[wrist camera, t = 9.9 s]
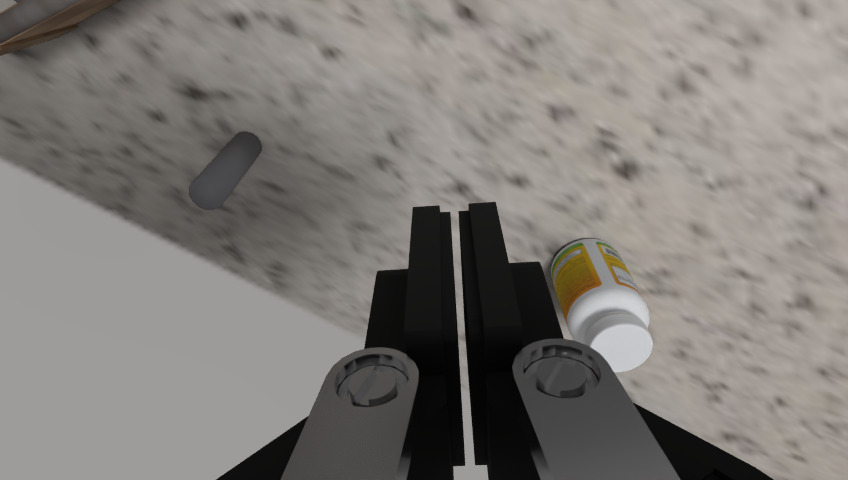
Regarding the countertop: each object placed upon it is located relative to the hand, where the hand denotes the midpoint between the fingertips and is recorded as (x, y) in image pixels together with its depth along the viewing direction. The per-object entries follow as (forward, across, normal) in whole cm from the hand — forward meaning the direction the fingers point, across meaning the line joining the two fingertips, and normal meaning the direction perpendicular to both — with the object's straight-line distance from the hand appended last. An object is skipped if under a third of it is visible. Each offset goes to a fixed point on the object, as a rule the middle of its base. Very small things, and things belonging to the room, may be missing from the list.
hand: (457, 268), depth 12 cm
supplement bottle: (+27, -10, +18) cm, 34 cm away
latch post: (+27, +14, +6) cm, 31 cm away
